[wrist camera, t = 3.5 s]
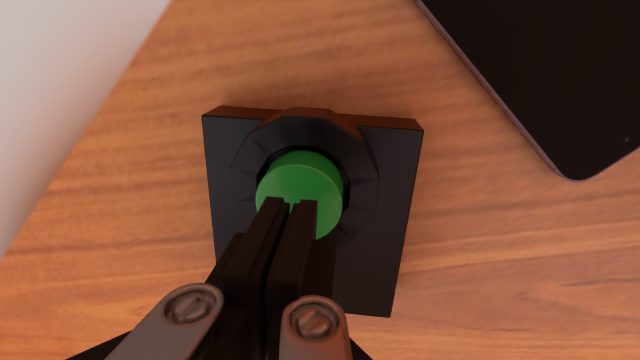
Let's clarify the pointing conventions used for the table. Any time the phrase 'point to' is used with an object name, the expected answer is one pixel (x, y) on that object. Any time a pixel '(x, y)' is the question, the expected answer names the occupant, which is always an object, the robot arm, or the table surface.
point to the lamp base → (358, 187)
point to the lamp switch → (305, 185)
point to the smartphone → (555, 72)
